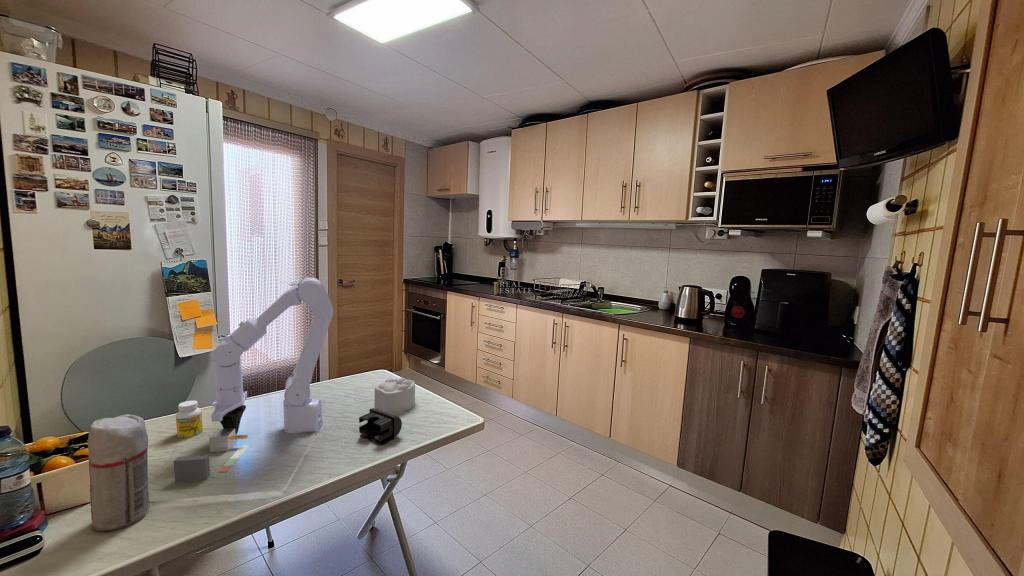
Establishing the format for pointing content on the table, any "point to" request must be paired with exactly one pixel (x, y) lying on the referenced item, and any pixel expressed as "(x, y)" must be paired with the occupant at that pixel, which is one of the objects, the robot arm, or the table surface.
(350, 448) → the table surface
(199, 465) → the gauge board
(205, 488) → the table surface
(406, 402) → the lumpy-topped squat cylinder
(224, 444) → the grey block
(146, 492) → the paper flour sack
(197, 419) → the supplement bottle
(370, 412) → the end cap
